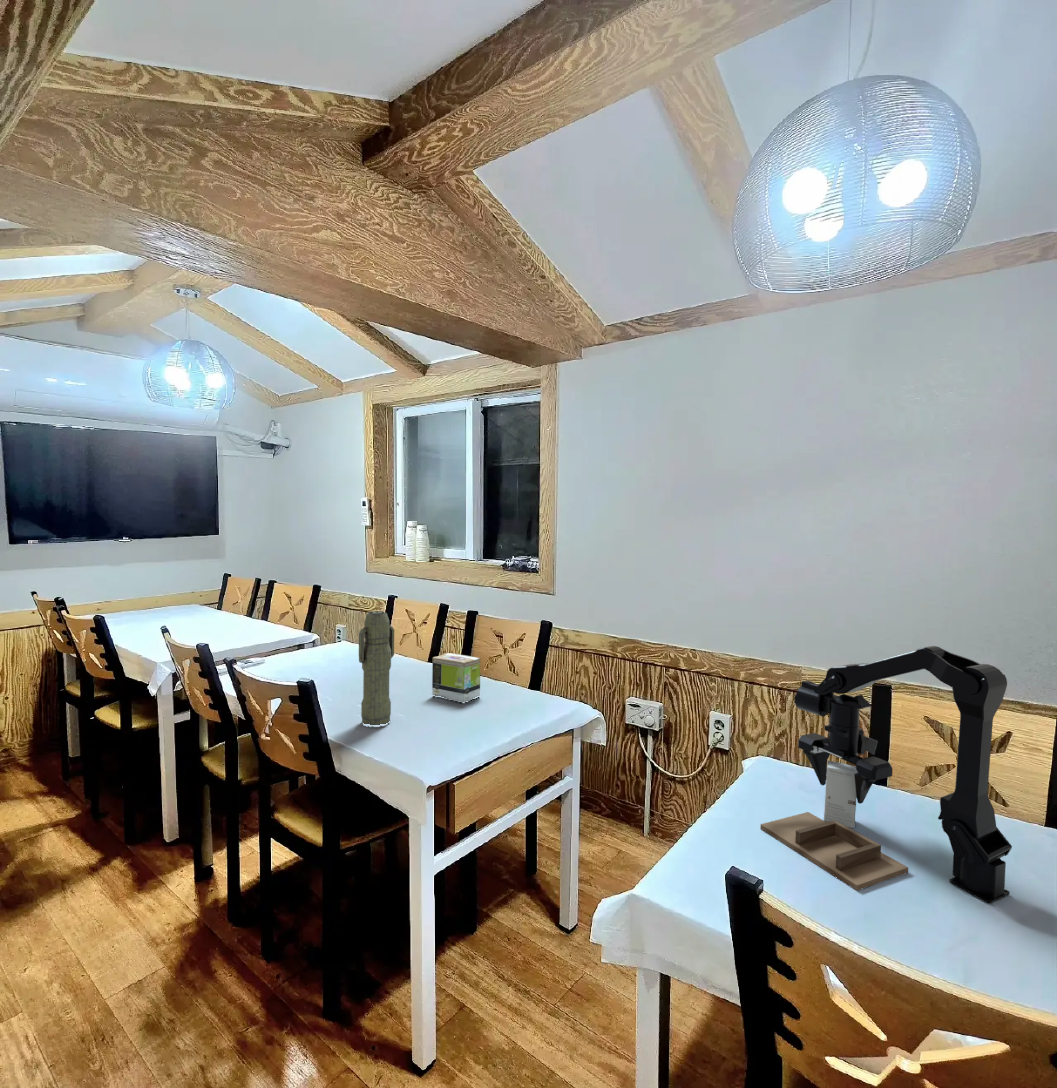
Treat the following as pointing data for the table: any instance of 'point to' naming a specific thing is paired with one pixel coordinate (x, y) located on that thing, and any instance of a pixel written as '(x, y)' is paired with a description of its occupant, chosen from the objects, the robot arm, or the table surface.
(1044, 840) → the table surface
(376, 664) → the olive robed figurine
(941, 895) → the table surface
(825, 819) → the skincare box
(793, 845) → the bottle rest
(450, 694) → the tea box
